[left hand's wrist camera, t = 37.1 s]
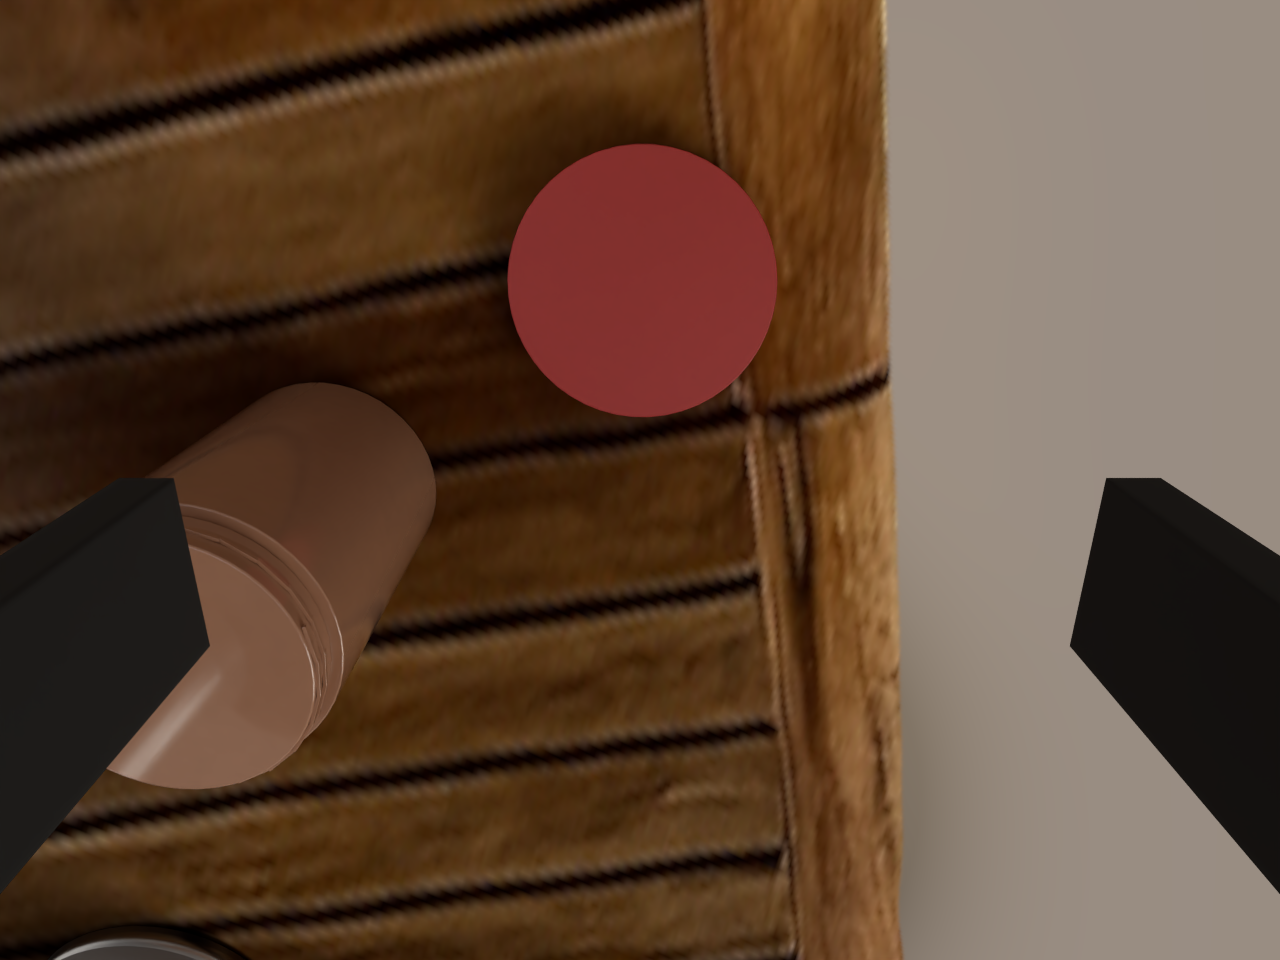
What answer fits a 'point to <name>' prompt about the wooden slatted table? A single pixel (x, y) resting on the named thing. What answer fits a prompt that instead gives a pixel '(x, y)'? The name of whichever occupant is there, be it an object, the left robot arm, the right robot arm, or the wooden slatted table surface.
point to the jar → (283, 575)
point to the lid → (642, 280)
